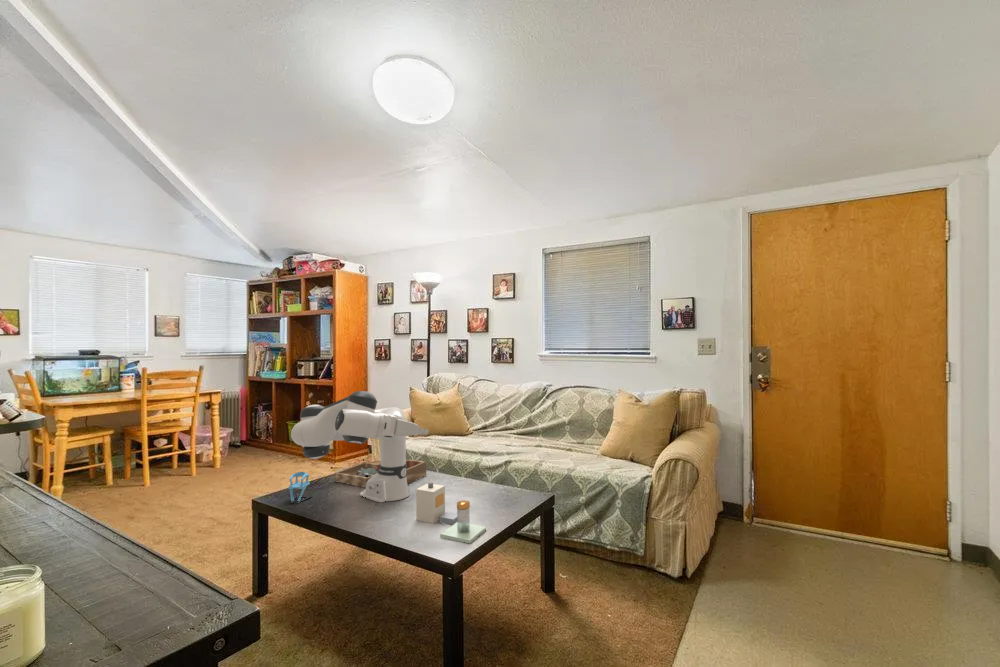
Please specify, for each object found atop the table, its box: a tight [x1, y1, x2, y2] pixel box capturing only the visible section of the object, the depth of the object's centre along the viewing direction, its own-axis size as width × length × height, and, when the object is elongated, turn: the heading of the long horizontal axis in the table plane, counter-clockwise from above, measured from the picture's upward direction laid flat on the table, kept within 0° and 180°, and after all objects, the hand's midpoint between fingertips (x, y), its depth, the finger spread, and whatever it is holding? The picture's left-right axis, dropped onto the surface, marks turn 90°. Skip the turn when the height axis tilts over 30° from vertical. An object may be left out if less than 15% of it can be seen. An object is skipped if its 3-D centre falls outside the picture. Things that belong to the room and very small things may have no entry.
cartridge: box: [456, 499, 471, 533], centre depth 163 cm, size 5×5×10 cm
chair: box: [287, 471, 311, 502], centre depth 198 cm, size 8×8×12 cm
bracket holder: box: [406, 459, 427, 485], centre depth 227 cm, size 11×18×7 cm, turn 154°
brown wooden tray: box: [334, 462, 381, 488], centre depth 229 cm, size 21×21×4 cm
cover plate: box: [439, 511, 457, 526], centre depth 175 cm, size 6×6×2 cm
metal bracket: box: [358, 468, 378, 477], centre depth 231 cm, size 14×6×15 cm
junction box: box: [415, 482, 446, 524], centre depth 177 cm, size 8×8×14 cm
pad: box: [439, 523, 487, 544], centre depth 163 cm, size 12×12×1 cm
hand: (424, 432), depth 161 cm, fingers open, 8 cm apart
